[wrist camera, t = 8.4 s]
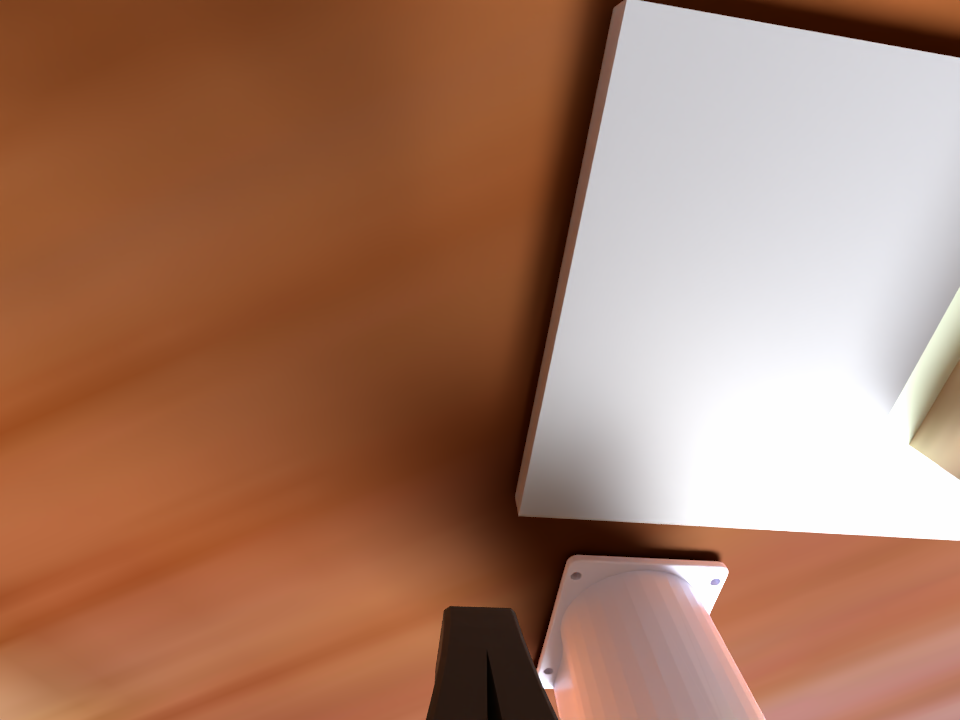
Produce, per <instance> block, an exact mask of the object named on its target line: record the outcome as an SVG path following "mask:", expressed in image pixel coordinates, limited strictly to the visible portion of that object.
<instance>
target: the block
mask: <svg viewBox="0 0 960 720" xmlns="http://www.w3.org/2000/svg"><path fill="white" fill-rule="evenodd" d="M909 446H911V447H912V448H914V449H915V450H917V451H918V452H920V453H921V454H923V455H924V456H925V457H927V458H928V459H930V460H931V461H933V462H934V463H936V464H937V465H939V466H940V467H941V468H943V469H944V470H946V471H947V472H949V473H950V474H952V475H953V476H955V477H956V478H957V479H959V480H960V359H959V361H958V362H957V364H956V366H955V368H954V369H953V371H952V373H951V374H950V376H949V378H948V379H947V381H946V383H945V385H944V386H943V388H942V390H941V391H940V393H939V395H938V396H937V398H936V400H935V402H934V403H933V405H932V407H931V408H930V410H929V412H928V413H927V415H926V417H925V418H924V420H923V422H922V424H921V425H920V427H919V429H918V430H917V432H916V434H915V435H914V437H913V439H912V441H911V442H910V444H909Z"/></svg>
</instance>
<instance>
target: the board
mask: <svg viewBox="0 0 960 720" xmlns="http://www.w3.org/2000/svg"><path fill="white" fill-rule="evenodd" d="M959 359H960V58H958V57H952V56H947V55H941V54H936V53H930V52H925V51H919V50H914V49H908V48H902V47H897V46H891V45H886V44H880V43H875V42H869V41H863V40H858V39H852V38H847V37H841V36H836V35H830V34H824V33H819V32H813V31H808V30H802V29H797V28H791V27H786V26H780V25H774V24H769V23H763V22H758V21H752V20H747V19H741V18H735V17H730V16H724V15H719V14H713V13H708V12H702V11H696V10H691V9H685V8H680V7H674V6H669V5H663V4H657V3H652V2H646V1H641V0H624V1H622V2H621V3H619V4H618V5H617V6H615V7H614V8H613V12H612V17H611V22H610V27H609V32H608V37H607V42H606V47H605V52H604V57H603V62H602V67H601V72H600V77H599V82H598V87H597V92H596V97H595V102H594V107H593V112H592V117H591V122H590V127H589V132H588V137H587V141H586V146H585V151H584V156H583V161H582V166H581V171H580V176H579V181H578V186H577V191H576V196H575V201H574V206H573V211H572V216H571V221H570V226H569V231H568V236H567V241H566V246H565V251H564V256H563V261H562V266H561V271H560V276H559V280H558V285H557V290H556V295H555V300H554V305H553V310H552V315H551V320H550V325H549V330H548V335H547V340H546V345H545V350H544V355H543V360H542V365H541V370H540V375H539V380H538V385H537V390H536V395H535V400H534V405H533V410H532V415H531V419H530V424H529V429H528V434H527V439H526V444H525V449H524V454H523V459H522V464H521V469H520V474H519V479H518V484H517V489H516V494H515V500H516V505H517V510H518V515H519V516H528V517H546V518H564V519H582V520H600V521H618V522H636V523H654V524H672V525H690V526H708V527H726V528H744V529H762V530H780V531H798V532H816V533H834V534H852V535H870V536H888V537H906V538H924V539H942V540H960V480H959V479H957V478H956V477H955V476H953V475H952V474H950V473H949V472H947V471H946V470H944V469H943V468H941V467H940V466H939V465H937V464H936V463H934V462H933V461H931V460H930V459H928V458H927V457H925V456H924V455H923V454H921V453H920V452H918V451H917V450H915V449H914V448H912V447H911V446H909V444H910V442H911V441H912V439H913V437H914V435H915V434H916V432H917V430H918V429H919V427H920V425H921V424H922V422H923V420H924V418H925V417H926V415H927V413H928V412H929V410H930V408H931V407H932V405H933V403H934V402H935V400H936V398H937V396H938V395H939V393H940V391H941V390H942V388H943V386H944V385H945V383H946V381H947V379H948V378H949V376H950V374H951V373H952V371H953V369H954V368H955V366H956V364H957V362H958V361H959Z"/></svg>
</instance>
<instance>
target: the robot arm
mask: <svg viewBox="0 0 960 720" xmlns="http://www.w3.org/2000/svg"><path fill="white" fill-rule="evenodd" d="M575 572H577V573H575ZM727 575H728V569H727V567H726V566H725V564H724V563H722V562H719V561H698V560H677V559H656V558H634V557H613V556H592V555H574V556H571V557H570V558H569V559H568V560H567V562H566V565H565V569H564V572H563V576H562V580H561V583H560V587H559V591H558V594H557V598H556V601H555V605H554V609H553V612H552V616H551V620H550V623H549V627H548V630H547V634H546V638H545V641H544V645H543V649H542V652H541V656H540V659H539V663H538V667H537V670H536V668H535V666H534V663H533V661H532V658H531V656H530V653H529V651H528V648H527V645H526V643H525V640H524V637H523V634H522V632H521V629H520V626H519V623H518V620H517V617H516V613H515V612H514V611H513V610H512V609H511V608H487V607H458V606H450V607H448V608H447V609H445V610H444V614H443V621H442V628H441V635H440V642H439V649H438V656H437V663H436V671H435V685H434V689H433V694H432V698H431V702H430V706H429V710H428V714H427V718H426V720H558V718H557V716H556V714H555V712H554V709H553V707H552V705H551V703H550V701H549V699H548V696H547V694H546V692H545V689H544V688H548V689H554V692H555V697H556V702H557V707H558V713H559V718H560V720H766V719H765V717H764V715H763V713H762V712H761V710H760V708H759V706H758V704H757V702H756V701H755V699H754V697H753V695H752V693H751V691H750V689H749V688H748V686H747V684H746V682H745V680H744V678H743V676H742V675H741V673H740V671H739V669H738V667H737V665H736V664H735V662H734V660H733V658H732V656H731V654H730V652H729V651H728V649H727V647H726V645H725V643H724V641H723V639H722V638H721V636H720V634H719V632H718V630H717V628H716V627H715V625H714V623H713V621H712V619H711V617H710V615H709V614H710V611H711V609H712V607H713V605H714V603H715V601H716V599H717V596H718V594H719V592H720V590H721V588H722V586H723V584H724V582H725V579H726V577H727Z"/></svg>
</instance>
